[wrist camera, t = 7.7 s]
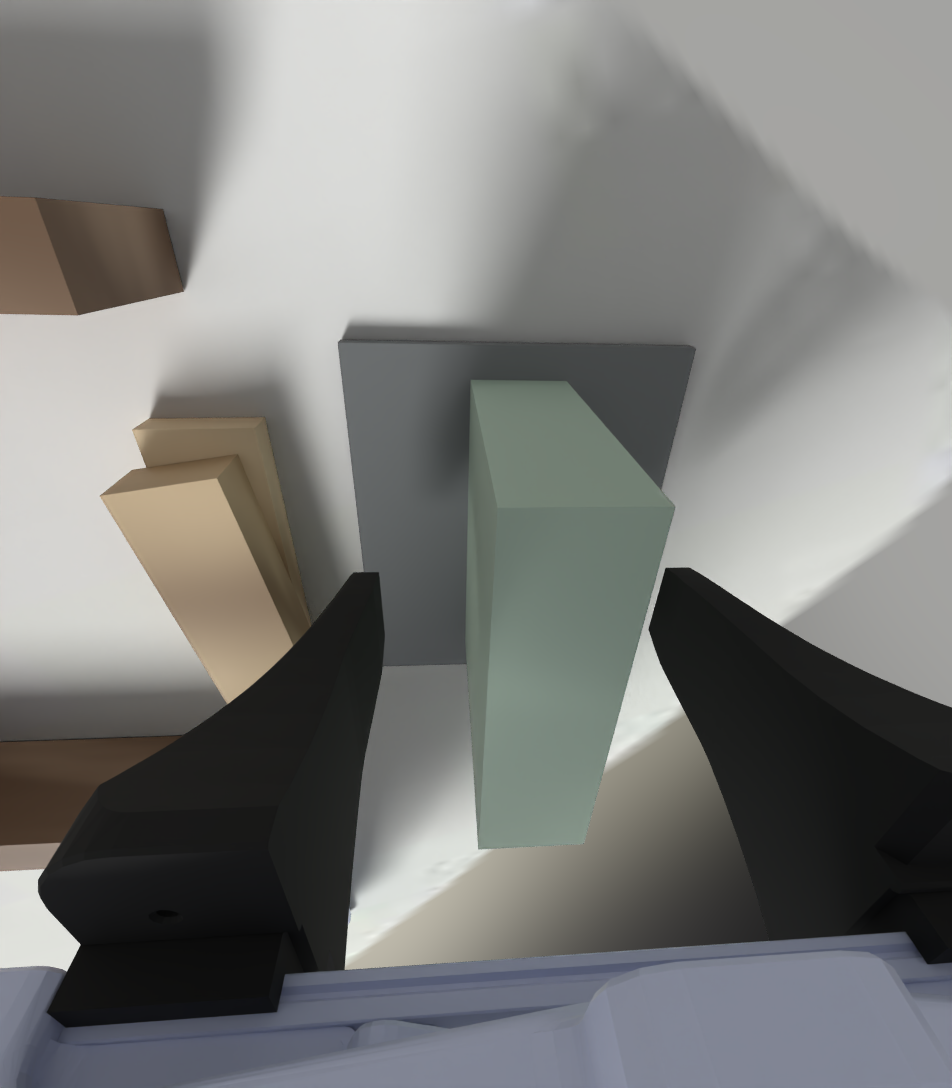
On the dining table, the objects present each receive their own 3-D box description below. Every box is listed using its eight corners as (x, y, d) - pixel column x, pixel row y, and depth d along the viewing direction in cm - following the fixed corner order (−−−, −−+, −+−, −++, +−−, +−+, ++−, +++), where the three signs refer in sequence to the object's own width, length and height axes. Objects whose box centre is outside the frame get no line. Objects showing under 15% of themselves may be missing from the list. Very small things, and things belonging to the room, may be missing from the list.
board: (535, 639, 18) (583, 843, 12) (465, 640, 17) (478, 849, 12) (566, 380, 13) (675, 506, 7) (470, 379, 13) (497, 507, 7)
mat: (615, 652, 19) (618, 659, 18) (376, 658, 18) (374, 666, 18) (689, 345, 13) (696, 348, 13) (340, 339, 12) (337, 342, 12)
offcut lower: (326, 664, 19) (318, 695, 18) (247, 668, 19) (233, 699, 18) (271, 410, 14) (254, 428, 13) (160, 411, 14) (132, 429, 12)
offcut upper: (330, 675, 17) (322, 709, 16) (252, 686, 17) (238, 722, 16) (238, 453, 13) (217, 478, 12) (132, 469, 13) (99, 496, 12)
